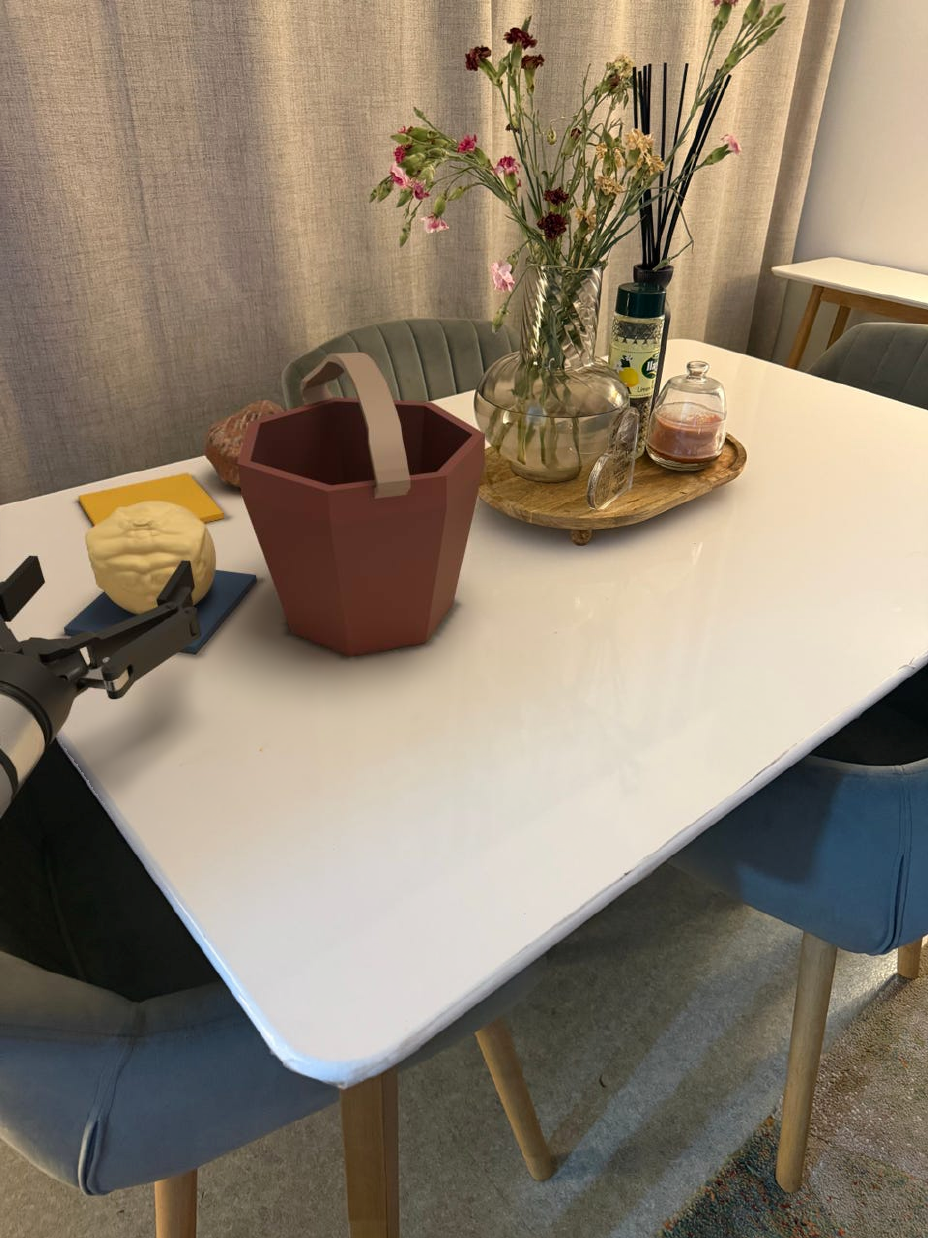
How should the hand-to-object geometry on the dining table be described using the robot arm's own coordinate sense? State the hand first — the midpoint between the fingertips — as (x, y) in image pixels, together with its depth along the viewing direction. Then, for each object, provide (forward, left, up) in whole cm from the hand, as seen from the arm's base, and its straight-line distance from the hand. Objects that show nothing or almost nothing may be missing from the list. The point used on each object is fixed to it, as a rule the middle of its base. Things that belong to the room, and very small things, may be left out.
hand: (112, 571), depth 78 cm
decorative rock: (-6, +41, -10) cm, 43 cm away
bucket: (+19, +14, -10) cm, 26 cm away
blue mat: (-2, +9, -10) cm, 13 cm away
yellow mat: (-15, +29, -10) cm, 34 cm away
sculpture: (-2, +9, -9) cm, 13 cm away
